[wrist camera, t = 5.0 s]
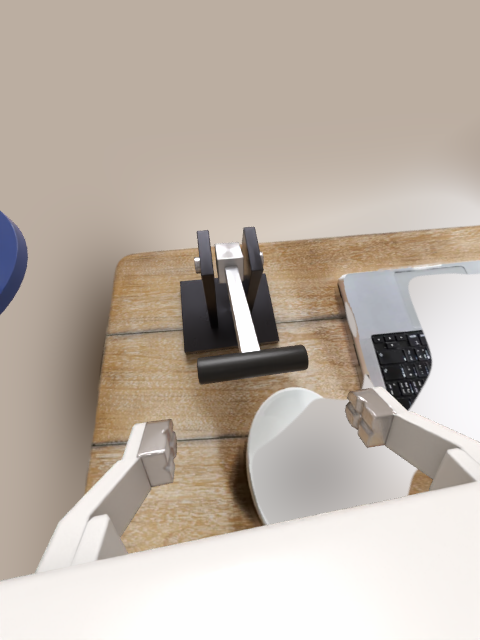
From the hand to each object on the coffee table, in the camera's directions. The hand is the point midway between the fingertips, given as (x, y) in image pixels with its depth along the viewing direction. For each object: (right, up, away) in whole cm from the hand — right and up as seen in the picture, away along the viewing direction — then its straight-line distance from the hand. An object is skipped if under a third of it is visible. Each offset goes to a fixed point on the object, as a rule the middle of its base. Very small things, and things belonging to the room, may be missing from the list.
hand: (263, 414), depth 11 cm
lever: (-1, +5, +7) cm, 9 cm away
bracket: (-3, +5, +21) cm, 22 cm away
